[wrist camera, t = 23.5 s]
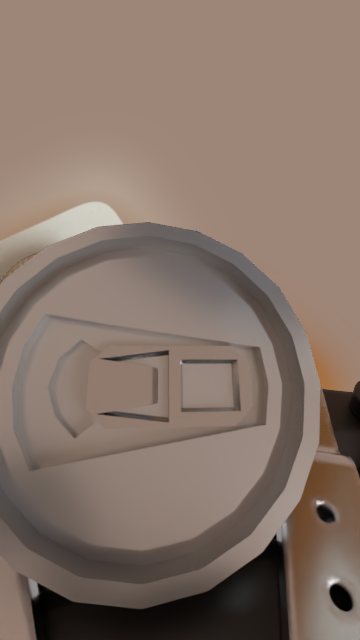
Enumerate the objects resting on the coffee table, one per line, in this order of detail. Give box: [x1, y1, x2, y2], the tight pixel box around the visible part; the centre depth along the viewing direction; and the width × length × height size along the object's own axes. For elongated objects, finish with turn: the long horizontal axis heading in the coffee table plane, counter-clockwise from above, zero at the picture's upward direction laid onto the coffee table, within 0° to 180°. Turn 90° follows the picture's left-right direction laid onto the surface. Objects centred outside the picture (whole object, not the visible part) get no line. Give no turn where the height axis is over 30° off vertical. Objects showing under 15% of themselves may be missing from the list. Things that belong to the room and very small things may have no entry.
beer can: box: [0, 222, 320, 609], centre depth 10 cm, size 5×5×12 cm
